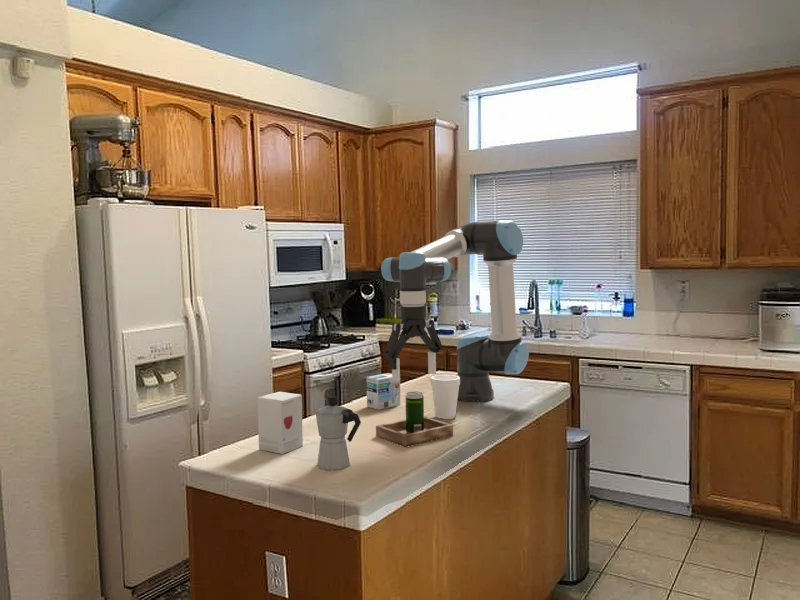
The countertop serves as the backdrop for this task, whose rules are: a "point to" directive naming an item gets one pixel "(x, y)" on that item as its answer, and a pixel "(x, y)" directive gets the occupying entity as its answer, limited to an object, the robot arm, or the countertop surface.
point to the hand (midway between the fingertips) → (414, 377)
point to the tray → (399, 435)
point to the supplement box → (280, 422)
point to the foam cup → (445, 395)
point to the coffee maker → (334, 435)
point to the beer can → (414, 412)
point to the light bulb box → (382, 391)
